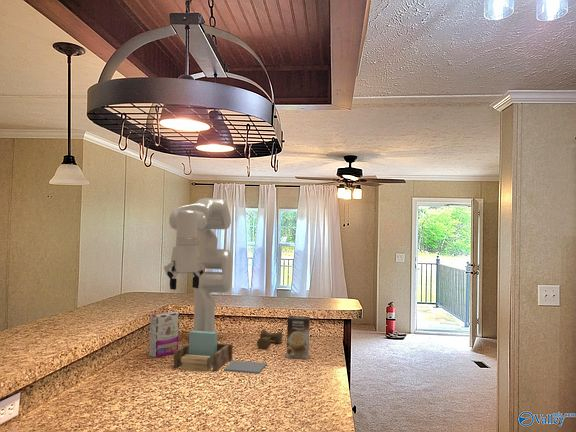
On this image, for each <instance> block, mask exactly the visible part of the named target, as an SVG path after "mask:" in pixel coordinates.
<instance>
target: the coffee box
mask: <svg viewBox="0 0 576 432" xmlns="http://www.w3.org/2000/svg"><path fill="white" fill-rule="evenodd" d="M310 323H311V317H310V316H302V315H301V316H300V315H299V316H298V315H288V316H287V327H286V329H287V331H286V332H287V333H286V354H285V358H286V359H287V358H288V359H300V360H308V359H309V349H310V325H311V324H310Z"/></svg>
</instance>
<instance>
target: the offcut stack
mask: <svg viewBox="0 0 576 432" xmlns="http://www.w3.org/2000/svg"><path fill="white" fill-rule="evenodd" d="M181 362H182V365H181V366H179V369H180V371H188V370H190V372H202V371H203V373H207V372H208V371H210V370H212V366H211V356H201V355H184V356H183V357H181Z"/></svg>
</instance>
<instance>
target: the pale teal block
mask: <svg viewBox="0 0 576 432" xmlns="http://www.w3.org/2000/svg"><path fill="white" fill-rule="evenodd" d="M188 334H189V338H188V339H189V340H188V342H189V355H201V356H211V367H213V354H215V353H216V352H217V343H218V332H217V331H214V332H207V331H193V330H190V331H189V333H188Z"/></svg>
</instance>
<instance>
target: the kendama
mask: <svg viewBox="0 0 576 432" xmlns="http://www.w3.org/2000/svg"><path fill="white" fill-rule="evenodd" d="M271 341H272V342H275V344H278V345H280V344H281V343H282V341H283V332H282V331H278V332H274V333H272V332H268V331H267V330H266V329H262V330H261V332H260V335H259V338H258V340H257V342H256V344H257V349H259V350H266V349H267V348H268V347H269V346H270V345H271Z"/></svg>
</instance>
